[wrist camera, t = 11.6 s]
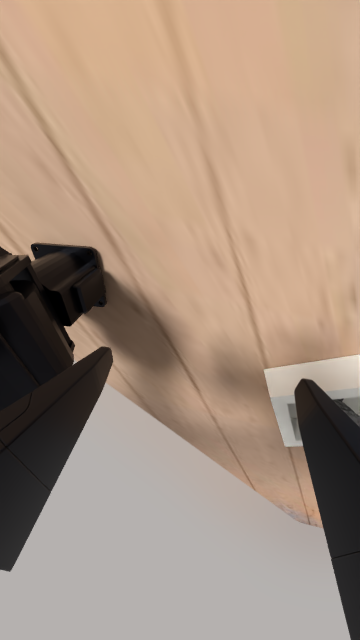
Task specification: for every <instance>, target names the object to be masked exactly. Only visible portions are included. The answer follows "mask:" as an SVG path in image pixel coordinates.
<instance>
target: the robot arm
mask: <svg viewBox="0 0 360 640" xmlns="http://www.w3.org/2000/svg"><path fill="white" fill-rule="evenodd" d="M36 247H37V248H38V249H37V248H36ZM31 249H32V252H33V255H34V257H35V260H34V261H32V262H31V260H30V258H29V256H28V255H12V254H11V253H9V252H7V251H6V250H4V249H3V248H1V247H0V570H5V571H9V572H10V571H11V569H12V568H13V566H14V564H15V562H16V560H17V558H18V556H19V554H20V552H21V550H22V548H23V547H24V545H25V543H26V540H27V539H28V537H29V535H30V533H31V531H32V529H33V527H34V525H35V523H36V521H37V519H38V517H39V515H40V513H41V511H42V509H43V507H44V505H45V503H46V501H47V499H48V497H49V495H50V493H51V491H52V489H53V487H54V485H55V483H56V481H57V479H58V477H59V475H60V473H61V471H62V469H63V467H64V465H65V463H66V461H67V459H68V457H69V455H70V454H71V452H72V449H73V448H74V446H75V444H76V442H77V440H78V438H79V436H80V433H81V432H82V430H83V428H84V426H85V424H86V422H87V420H88V418H89V416H90V414H91V412H92V410H93V408H94V406H95V404H96V402H97V400H98V398H99V396H100V394H101V392H102V390H103V387H104V385H105V382H106V379H107V377H108V374H109V371H110V369H111V366H112V363H113V356H112V351H111V348H109V347H100V348H99V349H97V350H96V351H94V352H92V353H91V354H89V355H88V356H86V357H85V358H83V359H82V360H80V361H78V362H77V363H75V364H74V365H73V362H74V355H73V350H74V347H75V344H74V342H73V341H72V340H71V339H70V337H69V336H68V334H67V332H66V330H65V328H64V326H71V325H72V324H73V323H74V322H75V321H76V320H77V319H78V318H79V317H80V316H81V315H82V314H86V313H87V312H88V311H89V310H90V309H91V308H92V307H93V306H97V307H104V306H105V305H106V303H107V301H106V297H105V292H106V291H105V287H104V282H103V277H102V272H101V270H100V268H99V263H98V259H97V254H96V251H95V249H94V248H92V247H87V246H73V245H60V244H47V243H34V244H32V245H31ZM89 251H90V252H91V253H92V255H91V254H90V253H89ZM100 301H101V302H102V303H101V302H100ZM294 396H295V404H296V412H297V419H298V426H299V431H300V435H301V439H302V443H303V447H304V451H305V455H306V459H307V463H308V467H309V471H310V475H311V480H312V484H313V488H314V492H315V496H316V500H317V504H318V508H319V512H320V516H321V520H322V524H323V528H324V532H325V536H326V540H327V544H328V548H329V552H330V556H331V558H332V559H331V561H332V565H333V569H334V573H335V577H336V581H337V585H338V589H339V593H340V597H341V602H342V605H343V610H344V614H345V618H346V622H347V625H348V629H349V633H350V638H351V640H360V427H359V426H358V425H357V424H356V423H355V422H354V421H353V420H352V419H351V418H350V417H349V416H348V415H347V414H346V413H345V412H344V411H343V410H342V409H341V408H340V407H339V406H338V405H337V404H336V403H335V402H334V401H333V400H332V399H331V398H330V397H329V396H328V395H327V394H326V393H325V392H324V391H323V390H322V389H321V388H320V387H319V386H318V385H317V384H316V383H315V382H314V381H313V380H311V379H305V378H302V379H301V380H300V382H299V383H298V385H297V386H296V388H295V390H294Z"/></svg>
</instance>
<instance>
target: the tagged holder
mask: <svg viewBox="0 0 360 640" xmlns="http://www.w3.org/2000/svg"><path fill="white" fill-rule="evenodd" d="M264 373H265V378H266V382H267V386H268V391H269V395H270V399H271V402H272V405H273V409H274V412H275V415H276V419H277V422H278V425H279V428H280V432H281V435H282V438H283V441H284V445H285V447H292V446H303V443H302V439H301V435H300V431H299V426H298V419H297V412H296V404H295V396H294V390H295V388H296V386H297V385H298V383H299V382H300V380H301V379H302V378H305V379H311V380H313V381H314V382H315V383H316V384H317V385H318V386H319V387H320V388H321V389H322V390H323V391H324V392H325V393H326V394H327V395H328V396H329V397H330V398H331V399H332V400H333V399H343V398H344V399H343V401H342V402H343V403H345V404H346V405H347V406H348V407H350V408H351V409H352V410H353V411H354V412H355V413H356V414H358V415H359V416H360V354H359V355H352V356H346V357H339V358H333V359H327V360H320V361H314V362H307V363H301V364H295V365H288V366H282V367H275V368H269V369H264Z"/></svg>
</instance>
